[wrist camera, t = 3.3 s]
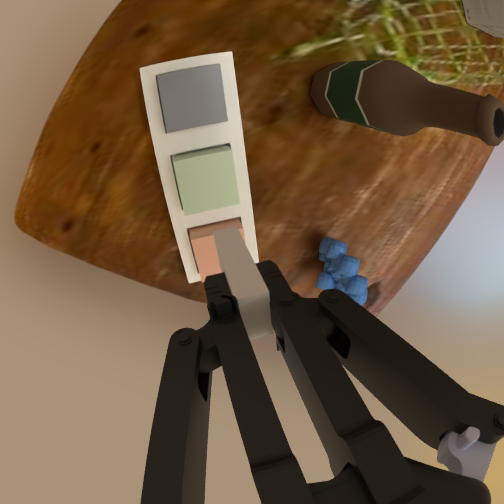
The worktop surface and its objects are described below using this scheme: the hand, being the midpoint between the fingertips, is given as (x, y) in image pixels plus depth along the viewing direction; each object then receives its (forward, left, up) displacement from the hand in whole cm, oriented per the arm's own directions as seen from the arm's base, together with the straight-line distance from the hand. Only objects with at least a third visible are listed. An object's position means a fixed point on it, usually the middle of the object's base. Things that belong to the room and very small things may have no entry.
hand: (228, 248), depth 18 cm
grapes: (+16, +15, -19) cm, 29 cm away
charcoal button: (-9, 0, -16) cm, 19 cm away
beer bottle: (-8, +18, -19) cm, 27 cm away
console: (0, 0, -19) cm, 19 cm away
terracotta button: (+9, 0, -16) cm, 18 cm away
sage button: (0, 0, -16) cm, 16 cm away
